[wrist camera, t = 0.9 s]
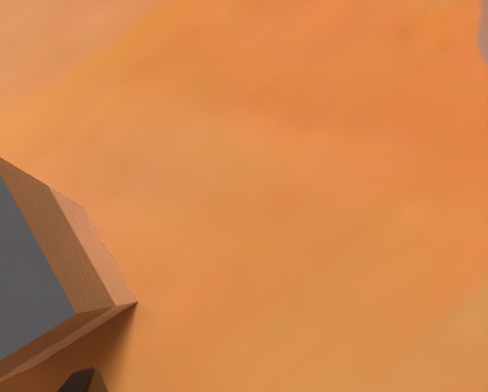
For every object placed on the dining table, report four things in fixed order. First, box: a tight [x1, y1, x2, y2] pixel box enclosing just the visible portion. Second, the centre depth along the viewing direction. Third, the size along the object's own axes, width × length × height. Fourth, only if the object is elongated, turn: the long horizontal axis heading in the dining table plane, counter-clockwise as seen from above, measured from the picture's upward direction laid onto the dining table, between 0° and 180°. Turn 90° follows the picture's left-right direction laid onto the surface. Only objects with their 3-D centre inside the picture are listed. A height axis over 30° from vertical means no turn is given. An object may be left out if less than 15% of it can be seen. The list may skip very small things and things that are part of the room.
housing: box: [0, 158, 138, 382], centre depth 17 cm, size 6×6×10 cm
